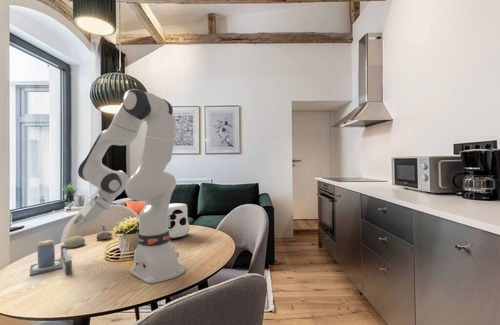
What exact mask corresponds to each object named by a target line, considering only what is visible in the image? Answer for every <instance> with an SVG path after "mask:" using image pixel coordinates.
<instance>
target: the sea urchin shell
mask: <svg viewBox="0 0 500 325" xmlns="http://www.w3.org/2000/svg"><path fill="white" fill-rule="evenodd" d="M85 243H86V239H85V237H83V236H81V235H73V236H69V237H68V238H66V239H65V240H64V242H63V245H67V249H68V248H73V249H74V248H77V247H80V246H84V244H85Z"/></svg>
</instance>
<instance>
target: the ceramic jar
mask: <svg viewBox="0 0 500 325" xmlns="http://www.w3.org/2000/svg"><path fill="white" fill-rule="evenodd" d="M37 244H38V245H37V246H36V248H37V249H36V250H37V264H38V268H48V267H51V266H53V265H55V260H56V258H55V256H56V252H55V242H54V239H46V240H42V241H38V243H37Z"/></svg>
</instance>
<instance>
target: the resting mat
mask: <svg viewBox="0 0 500 325" xmlns="http://www.w3.org/2000/svg"><path fill="white" fill-rule="evenodd" d="M61 269H63V263H62V259H61V258H57V259H55V265H53V266H51V267H48V268H38V263H36V264H35V263H33V264H31V265H30V270H29V277H32V276H37V275H41V274H42V275H43V274H45V273H49V272H53V271H58V270H59V271H60V270H61Z"/></svg>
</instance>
